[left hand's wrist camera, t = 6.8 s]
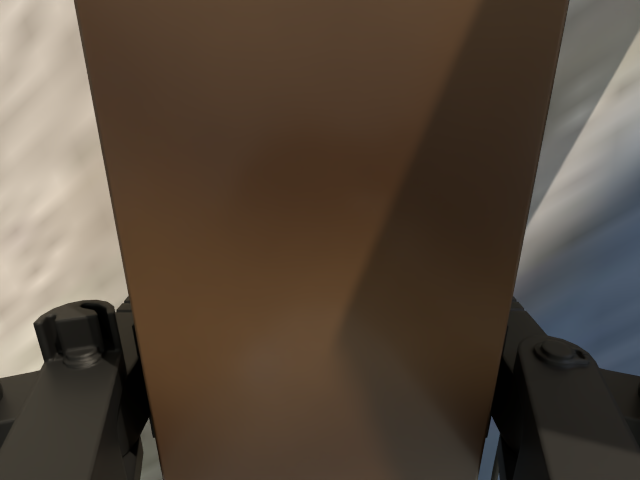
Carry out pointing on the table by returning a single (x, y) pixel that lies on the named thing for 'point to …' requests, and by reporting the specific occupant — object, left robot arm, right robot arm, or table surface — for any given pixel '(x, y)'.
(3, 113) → the table surface
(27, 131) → the table surface
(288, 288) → the board
